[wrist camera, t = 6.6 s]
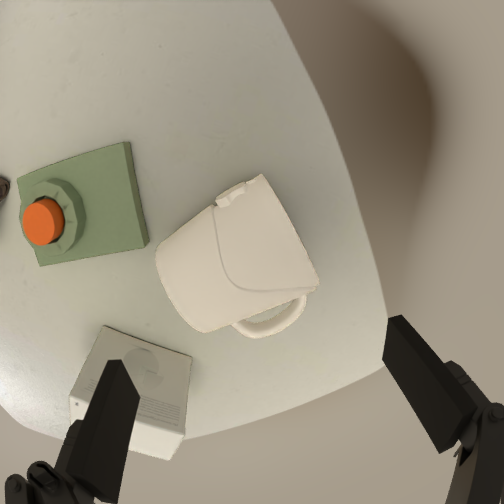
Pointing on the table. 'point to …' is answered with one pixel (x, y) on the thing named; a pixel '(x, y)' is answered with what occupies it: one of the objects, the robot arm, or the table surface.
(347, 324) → the table surface
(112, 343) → the cosmetics box
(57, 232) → the button
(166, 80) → the table surface
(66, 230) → the green button base
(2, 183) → the tablet stand
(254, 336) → the mug
